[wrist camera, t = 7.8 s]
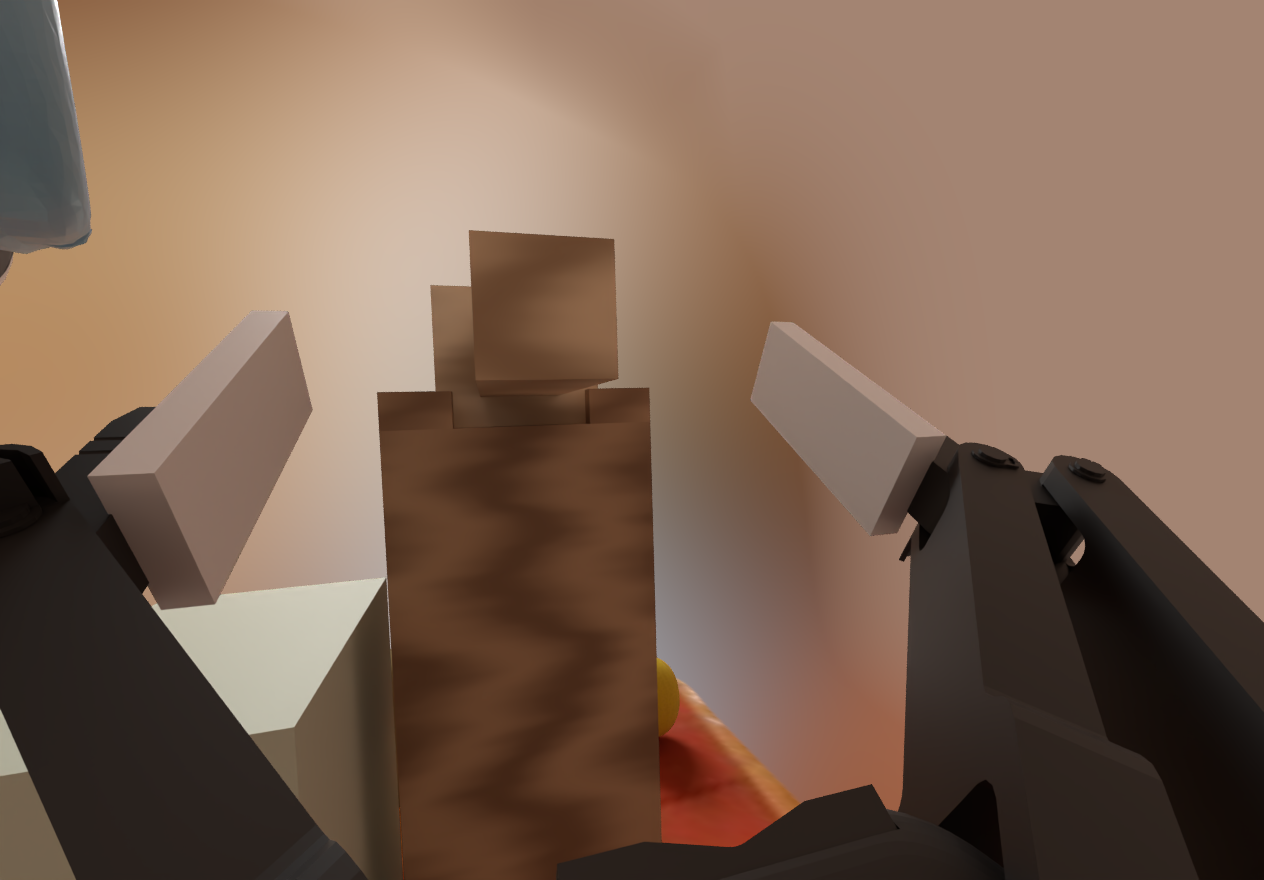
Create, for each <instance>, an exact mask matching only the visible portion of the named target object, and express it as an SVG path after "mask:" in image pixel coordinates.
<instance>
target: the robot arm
mask: <svg viewBox="0 0 1264 880" xmlns="http://www.w3.org/2000/svg"><path fill="white" fill-rule="evenodd" d="M90 218H91V211H90V201H89V194H88V187H87V181H86V173H85V167H84V160H83V154H82V148H81V141H80V135H79V129H78V122H77V116H76V109H75V103H74V99H73V92H72V86H71V80H70V75H69V69H68V64H67V58H66V52H65V46H64V40H63V34H62V28H61V22H60V16H59V10H58V4H57V0H0V285H1V284H2V283H3V281H4V280H5V278H6V276H7V274H8V271H9V269H10V267H11V264H12V261H13V252H17V253H23V254H28V253H31V252H34V251H37V250H40V249H45V248H49V247H54V248H59V249H70V248H73V247H75V246H77V245H81V244H84V243H86V242H87V239H88V237H89V236H90V235H91V231H92V229H90ZM751 401H752V403H753V404H754V405H755V406H756V407H757V408H758V409H759V411H760V412H761V413H762V414H763V415H764V416H765V417H766V418H767V420H768V421H769V422H770V423H771V424H772V425H773V426H774V428H775V429H776V430H777V431H778V432H779V433H780V434H781V435H782V437H783V438H784V439H785V440H786V441H787V442H788V443H789V445H790V446H791V447H792V448H793V449H794V450H795V451H796V453H797V454H798V455H799V456H800V457H801V458H802V459H803V460H804V461H805V463H806V464H807V465H808V466H809V467H810V468H811V470H812V471H813V472H815V474H816V475H817V476H818V477H819V479H820V480H821V481H822V482H823V483H824V484H825V485H826V487H827V488H828V489H829V490H830V491H831V492H832V493H833V494H834V496H835V497H836V498H837V499H838V500H839V501H840V502H841V504H842V505H843V506H844V507H845V508H846V509H847V510H848V511H849V512H850V514H851V515H852V516H853V517H854V518H855V519H856V521H857V522H858V523H859V524H860V525H861V526H862V527H863V528H864V530H865V531H866V532H867V533H868V534H869V535H870V536H874V535H883V534H893V533H897V532H898V530H899V528H900V526H901V524H902V523H903V520H904V518H905V517H906V515H907V513H909V514H910V515H911V516H912V517H913V518H914V519H915V520H916V521H917V522H918V524H917V526H916V528H915V530H914V532H913V534H912V535H911V538H910V539H909V541H908V543H907V545H906V547H905V549H904V551H903V553H902V554H901V556H900V558H899V560H901V561H904V560H905V559H906V557H907V556H911V564H910V594H909V623H908V624H909V625H908V652H907V684H906V712H905V741H904V771H903V791H902V799H901V803H900V807H899V810H898V812H897V811H893V810H888V809H886V808H885V806H884V805H883V803H882V801H881V799H880V797H879V796H878V794H877V792H876V791H875V789H874V787H873V785H872V784H871V785H867V786H863V787H859V788H855V789H851V790H847V791H843V792H840V793H835V794H832V795H827V796H823V797H819V798H815V799H811V800H808V801H804V802H803V803H801V804H800V805H798V806H797V807H795V808H794V809H793V810H791V811H790V812H788V813H787V814H785V815H784V816H783V817H781V818H780V819H778V820H777V821H775V822H774V823H772V824H771V825H770V826H768V827H767V828H765V829H764V830H762V831H761V832H760V833H758V834H757V835H755V836H754V837H752V838H751V839H749V840H748V841H747V842H745V843H743V844H742V845H739V846H736V847H718V846H703V845H688V844H673V843H658V842H641V843H637V844H633V845H629V846H625V847H621V848H618V849H614V850H610V851H606V852H602V853H598V854H594V855H590V856H586V857H582V858H578V859H574V860H570V861H566V862H562V863H558V864H557V871H556V880H1264V622H1262V621H1261V619H1260V618H1259V617H1258V616H1257V615H1255V613H1254V612H1252V611H1251V610H1250V609H1249V608H1248V607H1247V606H1246V605H1245V604H1244V603H1243V602H1242V601H1241V600H1240V599H1239V598H1238V597H1237V596H1236V595H1235V594H1234V593H1233V592H1232V591H1231V590H1230V589H1229V588H1228V587H1227V586H1226V585H1225V584H1224V583H1223V582H1222V581H1221V580H1220V579H1219V578H1218V577H1217V576H1216V575H1215V574H1214V573H1213V572H1212V571H1211V570H1210V569H1209V568H1208V567H1207V566H1206V565H1205V564H1204V563H1203V562H1202V561H1201V560H1200V559H1199V558H1198V557H1197V556H1196V555H1195V554H1194V553H1193V552H1192V551H1191V550H1190V549H1189V548H1188V547H1187V546H1186V545H1185V544H1184V543H1183V542H1182V541H1181V540H1180V539H1179V538H1178V537H1177V536H1176V535H1175V534H1174V533H1173V532H1172V531H1171V530H1170V529H1169V528H1168V527H1167V526H1166V525H1165V524H1164V523H1163V522H1162V521H1161V520H1160V519H1159V518H1158V517H1157V516H1156V515H1155V514H1154V513H1153V512H1152V511H1151V510H1150V509H1149V508H1148V507H1147V506H1146V505H1145V504H1144V503H1143V502H1142V501H1141V500H1140V499H1139V498H1138V497H1137V496H1136V495H1135V494H1134V493H1133V492H1132V491H1131V490H1130V489H1129V488H1128V487H1127V486H1126V485H1125V484H1124V483H1123V482H1122V481H1121V480H1120V479H1119V478H1118V477H1116V476H1115V475H1114V474H1113V473H1111V472H1110V471H1108V470H1106V469H1104V468H1103V467H1102V466H1101V465H1100V464H1098V463H1095V462H1091V461H1090V460H1087V459H1084V458H1081V459H1079V458H1076V457H1072V456H1063V455H1060V456H1055V457H1054V458H1053V459H1052V461H1051V463H1050V464H1049V466H1048V467H1047V469H1046V470H1045V472H1044V473H1038V472H1031V471H1025V470H1024V468H1023V466H1022V465H1021V463H1020V462H1018V461H1017V460H1016V459H1015V458H1013V457H1012V456H1010V455H1009V454H1006V453H1005V452H1003V451H1001V450H999V449H997V448H994V447H990V446H988V445H983V444H978V443H963V444H960V445H959V444H957V443H956V442H954V441H953V440H952V439H950V438H949V437H948V436H946V435H945V434H944V433H942V432H941V431H940V430H938V429H937V428H935V427H934V426H933V425H931V424H930V423H929V422H927V421H926V420H925V419H923V418H922V417H921V416H919V415H918V414H916V413H915V412H913V411H912V410H911V409H909V408H908V407H907V406H906V405H904V404H903V403H901V402H900V401H899V400H898V399H896V398H895V397H893V396H892V395H891V394H889V393H888V392H887V391H885V390H884V389H883V388H881V387H880V386H879V385H877V384H876V383H874V382H873V381H872V380H870V379H869V378H868V377H866V376H865V375H863V374H862V373H861V372H860V371H858V370H857V369H856V368H854V367H853V366H851V365H850V364H849V363H847V362H846V361H845V360H843V359H842V358H840V357H839V356H838V355H837V354H835V353H834V352H832V351H831V350H830V349H828V348H827V347H826V346H824V345H823V344H821V343H820V342H819V341H818V340H816V339H815V338H813V337H812V336H811V335H809V334H808V333H807V332H805V331H804V330H803V329H801V328H800V327H799V326H797V325H796V324H795V323H793V322H771V323H770V327H769V331H768V335H767V339H766V342H765V346H764V351H763V354H762V358H761V362H760V365H759V369H758V373H757V377H756V381H755V385H754V388H753V392H752V396H751ZM311 412H312V406H311V402H310V398H309V393H308V389H307V386H306V381H305V377H304V373H303V369H302V365H301V361H300V357H299V353H298V349H297V345H296V340H295V337H294V332H293V328H292V324H291V321H290V316H289V312H288V311H251V312H250V313H249V314H248V315H247V316H246V317H245V318H244V319H243V320H242V321H241V322H240V323H239V324H238V325H237V326H236V327H235V328H234V329H233V330H232V331H231V332H230V333H229V334H228V335H227V336H226V337H225V338H224V339H223V340H222V341H221V342H220V343H219V344H218V345H217V346H216V347H215V348H214V349H213V350H212V351H211V352H210V353H209V354H208V355H207V356H206V357H205V358H204V359H203V360H202V361H201V362H200V363H199V365H197V366H196V367H195V368H194V369H193V370H192V371H191V372H190V373H189V374H188V375H187V376H186V377H185V378H184V379H183V380H182V381H181V382H180V383H179V384H178V385H177V386H176V387H175V388H174V389H173V390H172V391H171V393H170V394H168V395H167V397H166V398H165V399H164V400H163V401H162V402H161V403H160V404H159V405H158V406H157V407H139V408H137V409H135V410H133V411H131V412H130V413H127V414H125V415H123V416H121V417H119V418H117V419H115V420H113V421H111V422H110V423H109V424H108V425H107V426H106V427H105V428H104V429H103V430H101V431H100V433H98V434H97V435H96V436H95V437H94V441H90V442H89V443H88V444H86V445H85V446H84V447H83V448H82V449H81V450H80V451H79V455H75V456H73V457H72V458H71V459H70V460H69V461H68V462H67V463H66V464H65V465H64V466H62V467H61V469H59V470H58V471H57V472H56V473H54V471H53V469H52V468H51V466H50V465H49V463H48V461H47V459H46V458H45V456H44V454H43V452H41V451H40V450H38V449H36V448H34V447H32V446H26V445H17V444H5V445H0V710H1V712H2V714H3V716H4V719H5V721H6V723H7V725H8V728H9V730H10V732H11V734H12V737H13V739H14V741H15V743H16V746H17V748H18V750H19V752H20V755H21V757H22V759H23V761H24V764H25V766H26V768H27V770H28V773H29V775H30V777H31V779H32V782H33V784H34V786H35V788H36V791H37V793H38V795H39V797H40V800H41V802H42V804H43V806H44V809H45V811H46V813H47V815H48V818H49V820H50V822H51V824H52V827H53V829H54V831H55V833H56V836H57V838H58V840H59V842H60V845H61V847H62V849H63V851H64V854H65V856H66V858H67V860H68V863H69V865H70V867H71V870H72V872H73V874H74V876H75V879H76V880H368V878H367V877H366V876H365V874H364V873H363V872H362V871H361V869H360V868H359V867H358V866H357V864H356V863H355V862H354V861H353V859H352V858H351V857H350V856H349V855H348V853H347V852H346V851H345V850H344V849H343V848H342V847H341V846H340V845H339V844H338V843H337V842H336V841H333V840H330V839H329V838H328V837H327V836H326V835H325V834H324V833H323V831H322V830H321V829H320V828H319V826H318V825H317V824H316V823H315V821H314V820H313V819H312V817H311V816H310V815H309V813H308V812H307V811H306V809H305V808H304V807H303V805H302V804H301V803H300V801H299V800H298V799H297V798H296V796H295V795H294V794H293V792H292V791H291V790H290V788H289V787H288V786H287V784H286V783H285V782H284V780H283V779H282V778H281V776H280V775H279V774H278V772H277V771H276V770H275V769H274V767H273V766H272V765H271V763H270V762H269V761H268V759H267V758H266V757H265V755H264V754H263V753H262V751H261V750H260V749H259V747H258V746H257V745H256V744H255V742H254V741H253V740H252V738H251V737H250V736H249V734H248V733H247V732H246V730H245V729H244V728H243V726H242V725H241V724H240V722H239V721H238V720H237V718H236V717H235V716H234V715H233V713H232V712H231V711H230V709H229V708H228V707H227V705H226V704H225V703H224V701H223V700H222V699H221V697H220V696H219V695H218V693H217V692H216V691H215V689H214V688H213V687H212V686H211V684H210V683H209V682H208V680H207V679H206V678H205V676H204V675H203V674H202V672H201V671H200V670H199V668H198V667H197V666H196V664H195V663H194V662H193V661H192V659H191V658H190V657H189V655H188V654H187V653H186V651H185V650H184V649H183V647H182V646H181V645H180V643H179V642H178V641H177V639H176V638H175V637H174V635H173V634H172V633H171V632H170V630H169V629H168V628H167V626H166V625H165V624H164V622H163V621H162V620H161V618H160V617H159V616H158V614H157V613H156V612H155V610H154V609H153V608H152V606H151V605H150V604H149V603H148V601H147V600H146V599H145V597H144V596H143V595H142V593H143V592H144V590H145V589H146V587H147V586H148V587H149V589H150V591H151V593H152V595H153V596H154V598H155V600H156V602H157V604H158V606H159V607H160V609H161V610H167V609H176V608H186V607H195V606H205V605H214V604H216V602H217V600H218V598H219V596H220V594H221V592H222V590H223V588H224V586H225V584H226V582H227V580H228V578H229V576H230V574H231V572H232V570H233V568H234V566H235V564H236V562H237V560H238V558H239V556H240V554H241V552H242V550H243V548H244V546H245V544H246V542H247V540H248V538H249V536H250V534H251V532H252V530H253V527H254V526H255V524H256V522H257V520H258V518H259V516H260V514H261V512H262V510H263V508H264V506H265V504H266V502H267V500H268V498H269V496H270V494H271V492H272V490H273V488H274V486H275V484H276V482H277V480H278V478H279V476H280V474H281V472H282V470H283V468H284V466H285V464H286V462H287V460H288V458H289V456H290V454H291V452H292V450H293V448H294V446H295V444H296V442H297V440H298V438H299V436H300V434H301V432H302V430H303V428H304V426H305V424H306V422H307V420H308V418H309V416H310V414H311ZM1083 540H1085V550H1084V554H1083V556H1082V558H1081V559H1080V561H1079V562H1078V563H1077V564H1076V565H1075V563H1074V562H1073V561H1072V559H1071V558H1070V556H1071V555H1072V554H1073V553H1074V551H1075V550H1076V549H1077V547H1078V546H1079V545H1080V544H1081V542H1082V541H1083Z"/></svg>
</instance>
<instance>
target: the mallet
mask: <svg viewBox="0 0 1264 880" xmlns="http://www.w3.org/2000/svg"><path fill="white" fill-rule="evenodd" d="M469 246H470V268H471V287H467V286H438V285H436V286H435V285H431V305H432V326H433V347H434V365H435V386H436V391H452V392H453V413H454V428H464V427H493V426H521V425H550V424H579V423H586V412H585V390H586V389H598V384H601V383H605V382H608V381H612V380H616V379H618V350H617V317H616V287H615V286H616V285H615V251H614V239H603V238H586V237H570V236H554V235H538V234H522V233H504V232H488V231H473V230H469Z"/></svg>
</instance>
